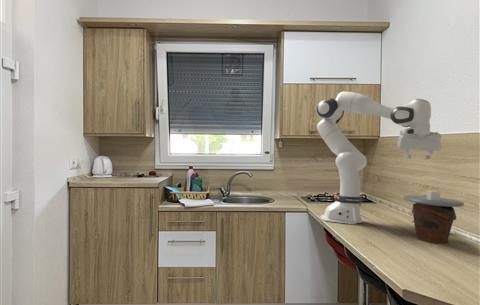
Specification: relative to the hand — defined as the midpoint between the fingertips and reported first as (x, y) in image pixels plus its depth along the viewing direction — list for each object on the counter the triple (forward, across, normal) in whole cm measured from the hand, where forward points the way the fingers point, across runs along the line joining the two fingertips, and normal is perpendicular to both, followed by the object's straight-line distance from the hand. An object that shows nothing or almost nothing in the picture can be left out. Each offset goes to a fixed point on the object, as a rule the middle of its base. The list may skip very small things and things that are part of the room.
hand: (418, 158), depth 167 cm
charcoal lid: (+20, -2, +13) cm, 24 cm away
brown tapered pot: (+37, -2, +13) cm, 40 cm away
